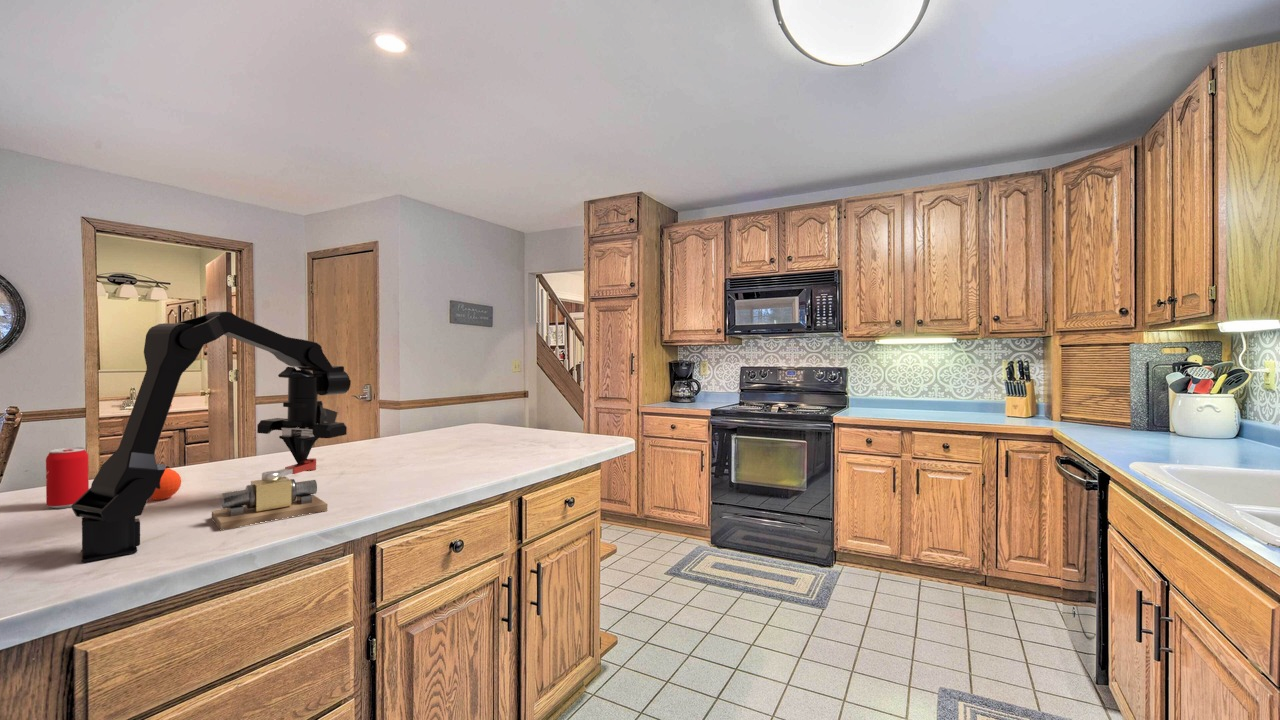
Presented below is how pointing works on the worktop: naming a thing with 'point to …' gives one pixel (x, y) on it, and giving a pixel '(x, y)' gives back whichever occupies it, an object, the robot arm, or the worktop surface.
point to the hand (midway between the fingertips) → (301, 465)
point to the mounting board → (266, 514)
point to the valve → (268, 495)
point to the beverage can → (66, 476)
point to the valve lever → (290, 470)
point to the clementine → (167, 485)
